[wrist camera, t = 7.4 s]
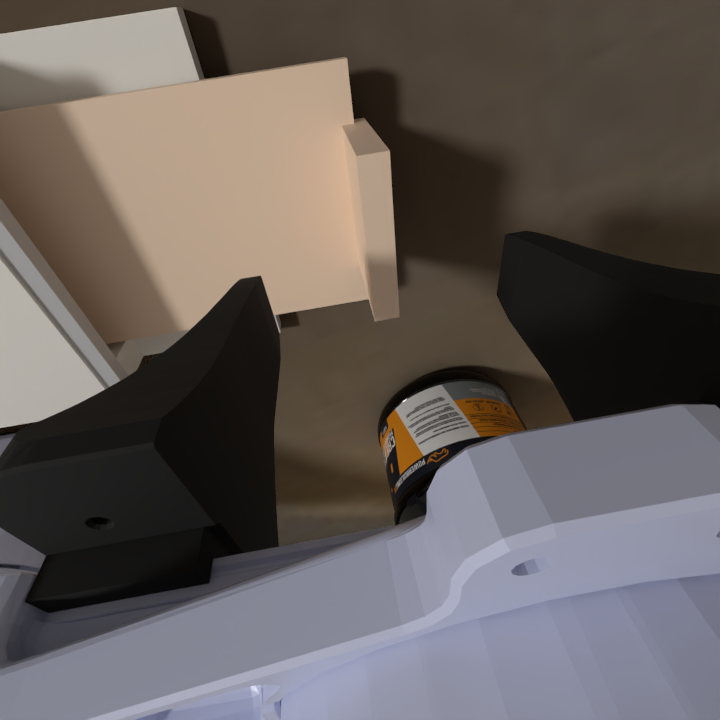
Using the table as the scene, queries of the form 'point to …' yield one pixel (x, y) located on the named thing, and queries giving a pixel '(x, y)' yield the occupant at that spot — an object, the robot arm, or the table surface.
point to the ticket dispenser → (15, 249)
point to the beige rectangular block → (206, 197)
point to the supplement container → (438, 430)
